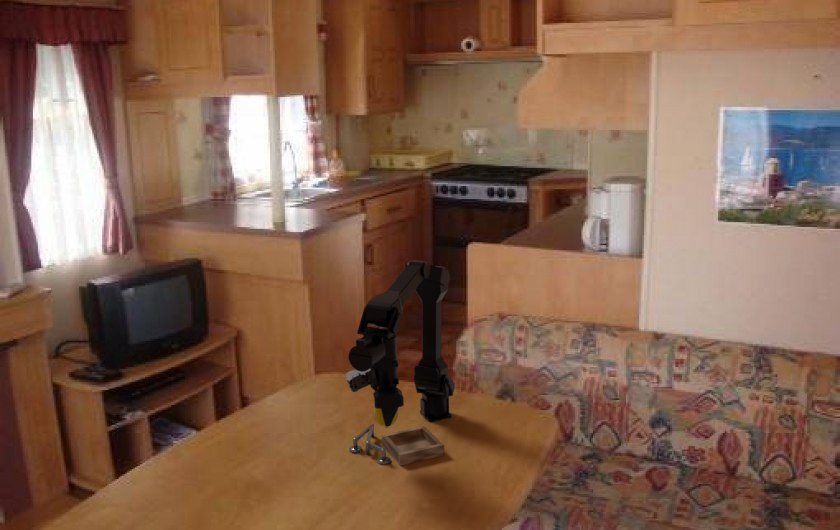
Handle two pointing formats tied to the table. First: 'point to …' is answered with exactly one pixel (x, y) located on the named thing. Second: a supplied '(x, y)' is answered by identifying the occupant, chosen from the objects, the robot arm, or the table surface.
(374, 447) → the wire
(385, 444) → the tray
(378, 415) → the lemon
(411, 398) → the table surface
